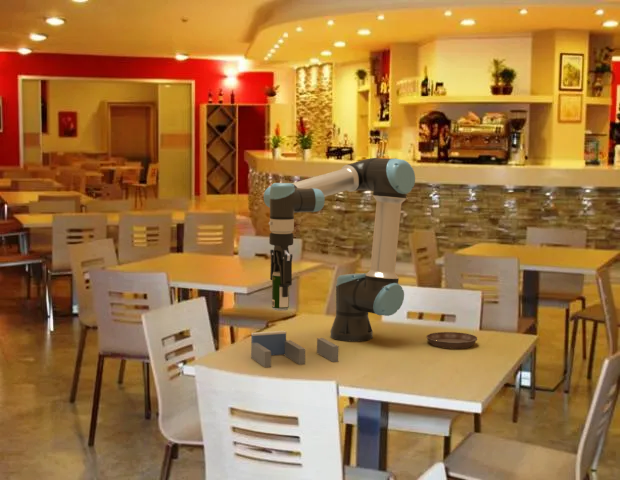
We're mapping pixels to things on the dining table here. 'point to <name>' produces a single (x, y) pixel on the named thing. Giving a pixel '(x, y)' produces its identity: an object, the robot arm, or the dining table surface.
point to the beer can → (277, 292)
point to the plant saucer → (452, 340)
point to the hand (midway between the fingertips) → (280, 305)
